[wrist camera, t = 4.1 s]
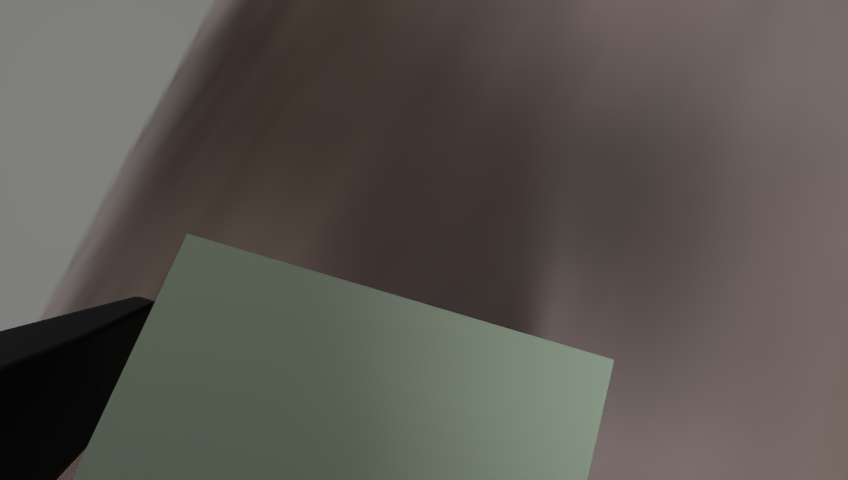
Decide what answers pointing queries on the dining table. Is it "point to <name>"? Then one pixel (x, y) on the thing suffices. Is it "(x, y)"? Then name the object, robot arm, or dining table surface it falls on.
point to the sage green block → (336, 385)
